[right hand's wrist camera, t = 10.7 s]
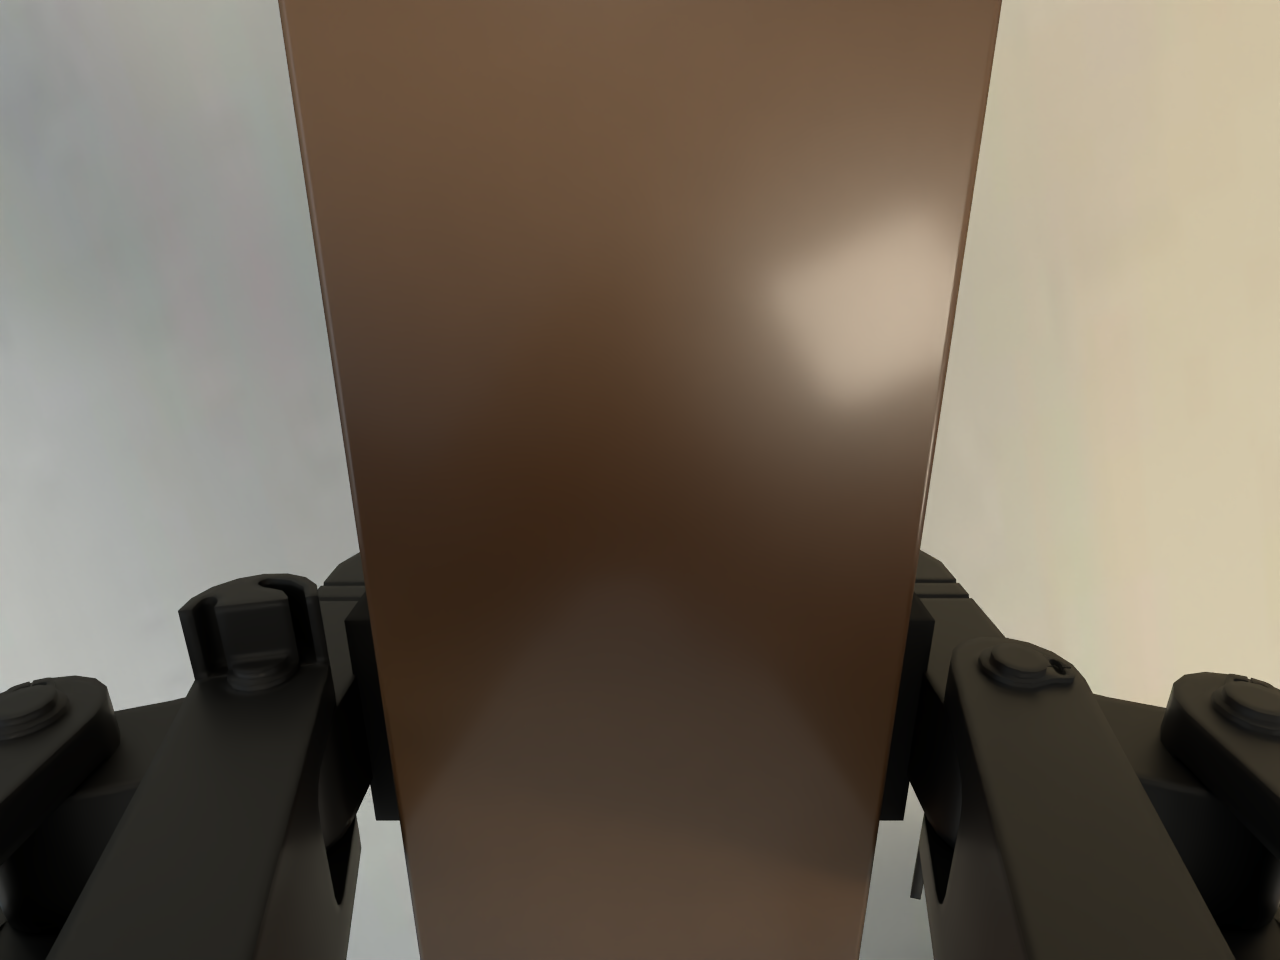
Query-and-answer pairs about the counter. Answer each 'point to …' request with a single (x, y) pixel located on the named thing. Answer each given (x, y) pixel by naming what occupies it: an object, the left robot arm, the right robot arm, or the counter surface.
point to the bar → (639, 440)
